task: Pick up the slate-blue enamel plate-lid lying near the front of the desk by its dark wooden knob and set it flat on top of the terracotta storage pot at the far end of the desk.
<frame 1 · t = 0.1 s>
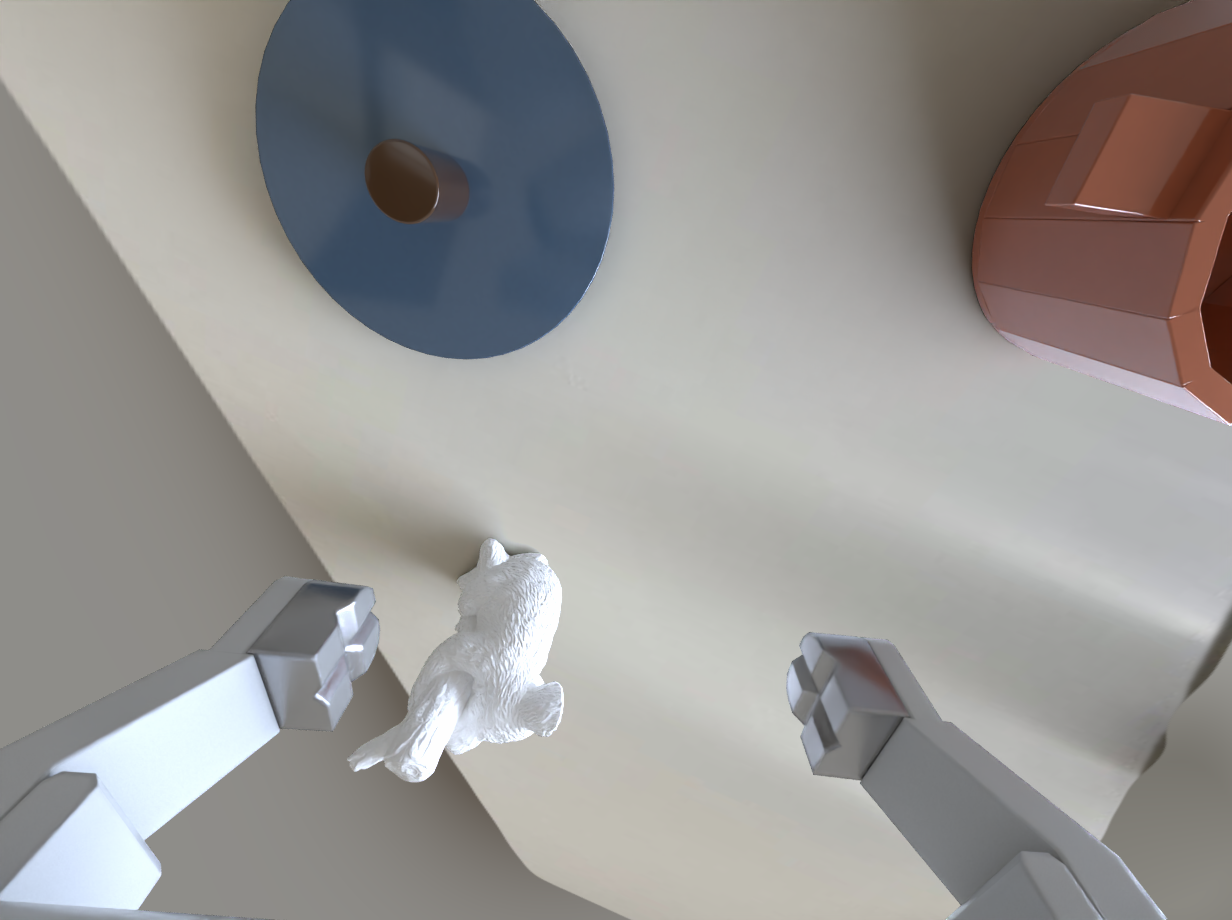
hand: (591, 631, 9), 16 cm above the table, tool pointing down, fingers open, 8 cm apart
lid: (444, 188, 19), point 1 cm above the table
pot: (1135, 206, 19), on the table
koala figurine: (511, 566, 29), on the table
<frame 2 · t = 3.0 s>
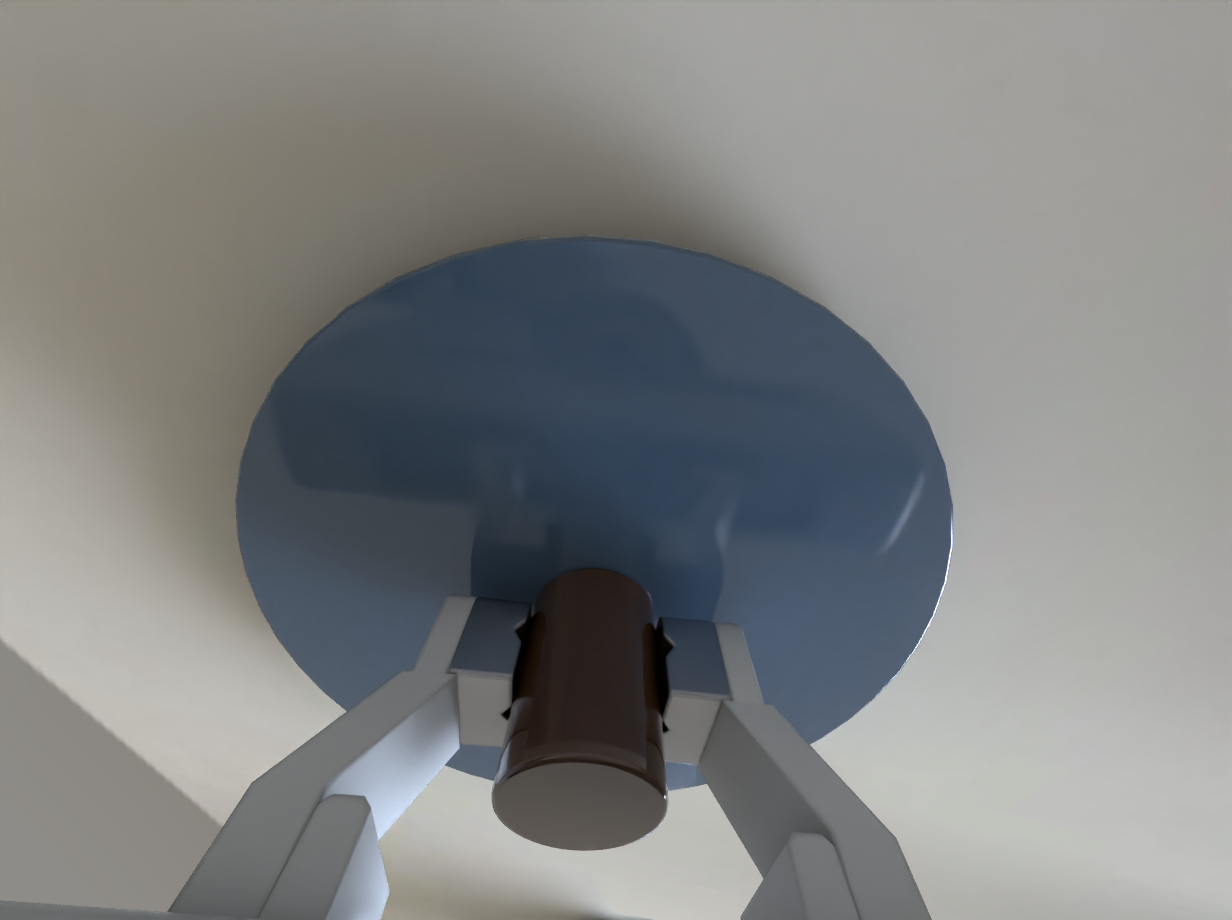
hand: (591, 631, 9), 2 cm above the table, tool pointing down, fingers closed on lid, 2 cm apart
lid: (595, 590, 10), point 1 cm above the table, touching gripper
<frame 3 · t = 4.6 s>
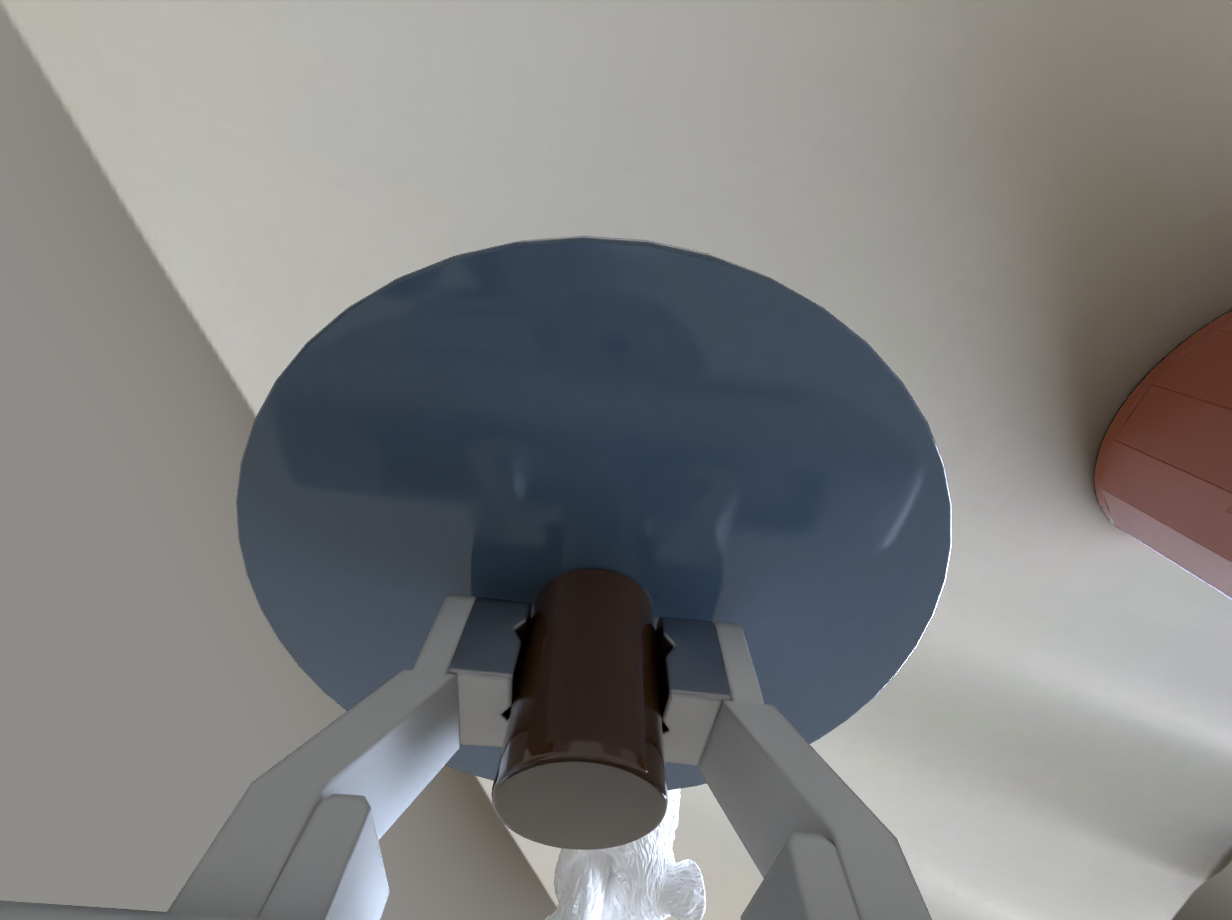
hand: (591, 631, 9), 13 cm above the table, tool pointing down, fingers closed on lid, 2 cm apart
lid: (595, 590, 10), point 11 cm above the table, touching gripper
koala figurine: (614, 704, 30), on the table
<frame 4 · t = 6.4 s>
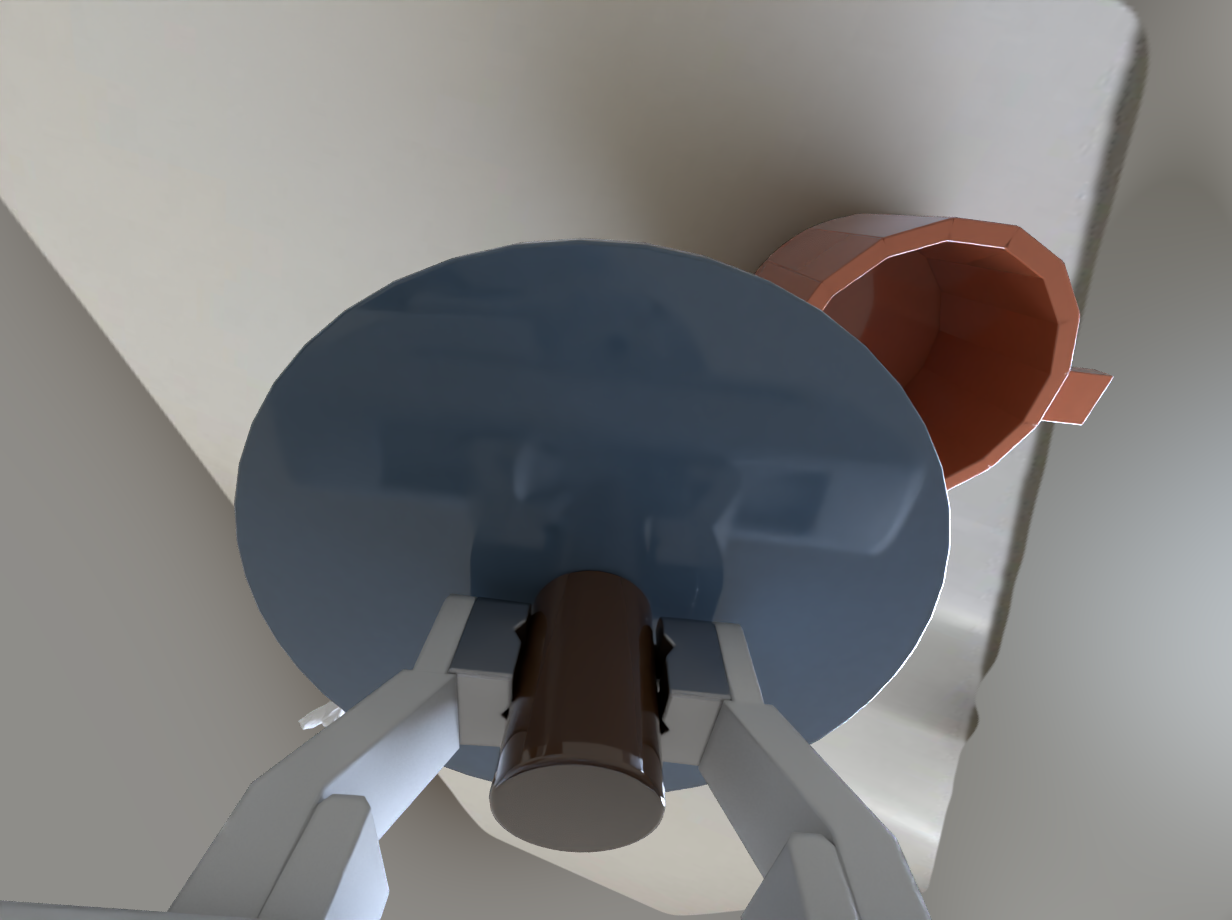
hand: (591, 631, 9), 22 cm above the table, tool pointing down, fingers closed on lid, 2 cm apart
lid: (593, 592, 10), point 21 cm above the table, touching gripper
pot: (835, 335, 28), on the table
koala figurine: (436, 582, 38), on the table
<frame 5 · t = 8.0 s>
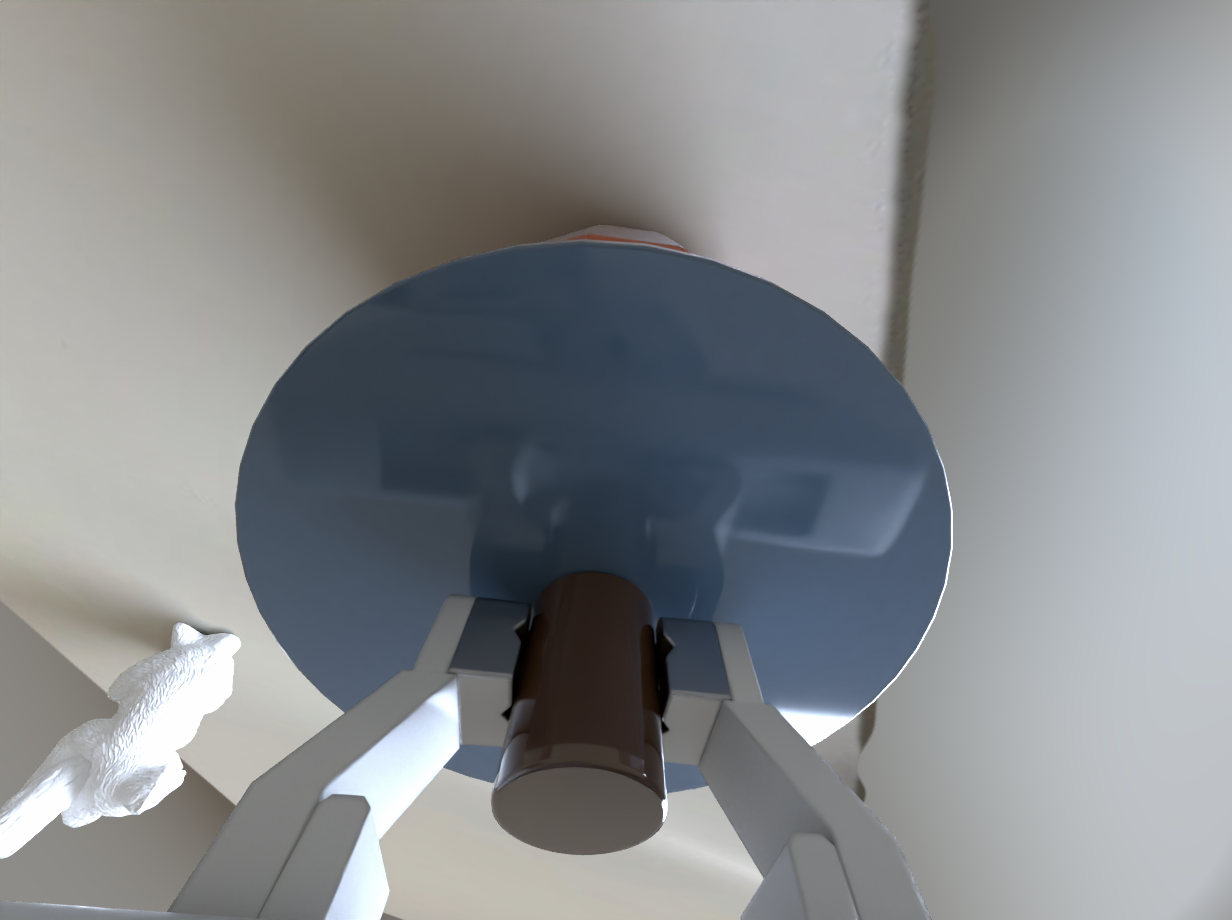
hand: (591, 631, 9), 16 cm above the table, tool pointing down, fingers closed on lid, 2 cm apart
lid: (595, 593, 10), point 15 cm above the table, touching gripper
pot: (612, 371, 23), on the table
koala figurine: (215, 642, 32), on the table
when the fingers open (10 cm above the table, at t = 9.7 s): lid stays where it is, resting on pot.
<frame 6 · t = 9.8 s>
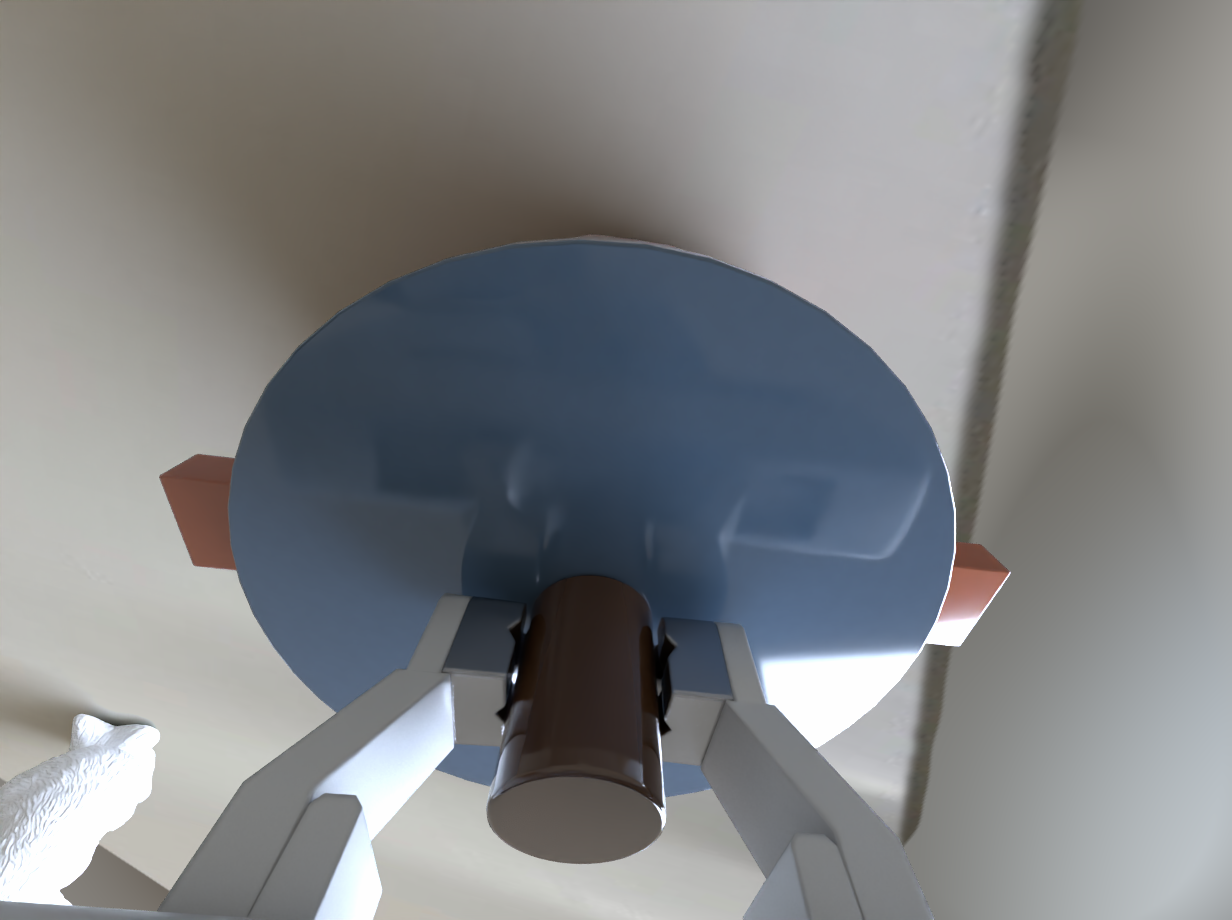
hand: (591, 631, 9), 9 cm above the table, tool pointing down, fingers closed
lid: (593, 596, 10), point 8 cm above the table, touching pot
pot: (607, 425, 17), on the table
koala figurine: (131, 732, 27), on the table
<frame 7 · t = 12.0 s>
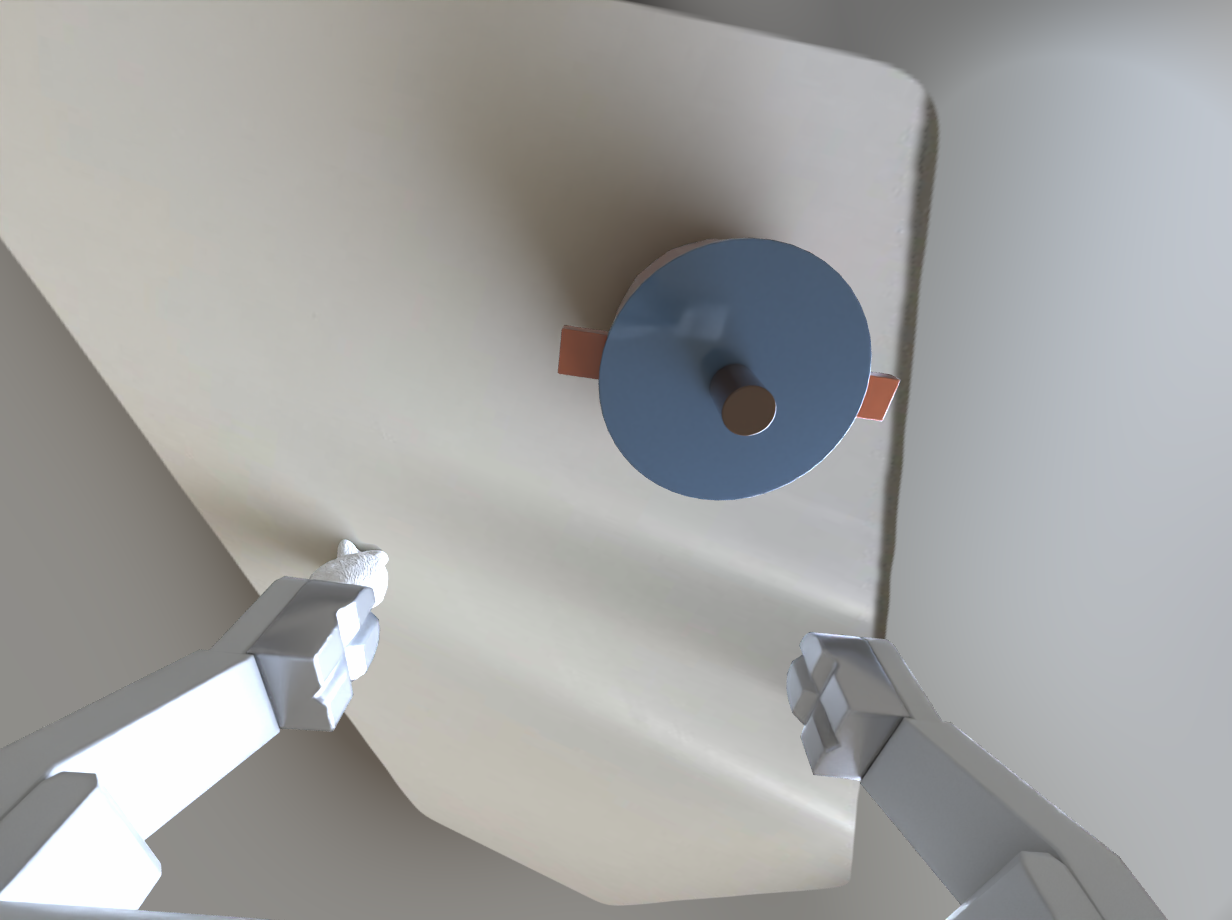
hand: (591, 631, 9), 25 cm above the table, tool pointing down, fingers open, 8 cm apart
lid: (730, 383, 24), point 8 cm above the table, touching pot
pot: (705, 342, 32), on the table
koala figurine: (365, 559, 41), on the table
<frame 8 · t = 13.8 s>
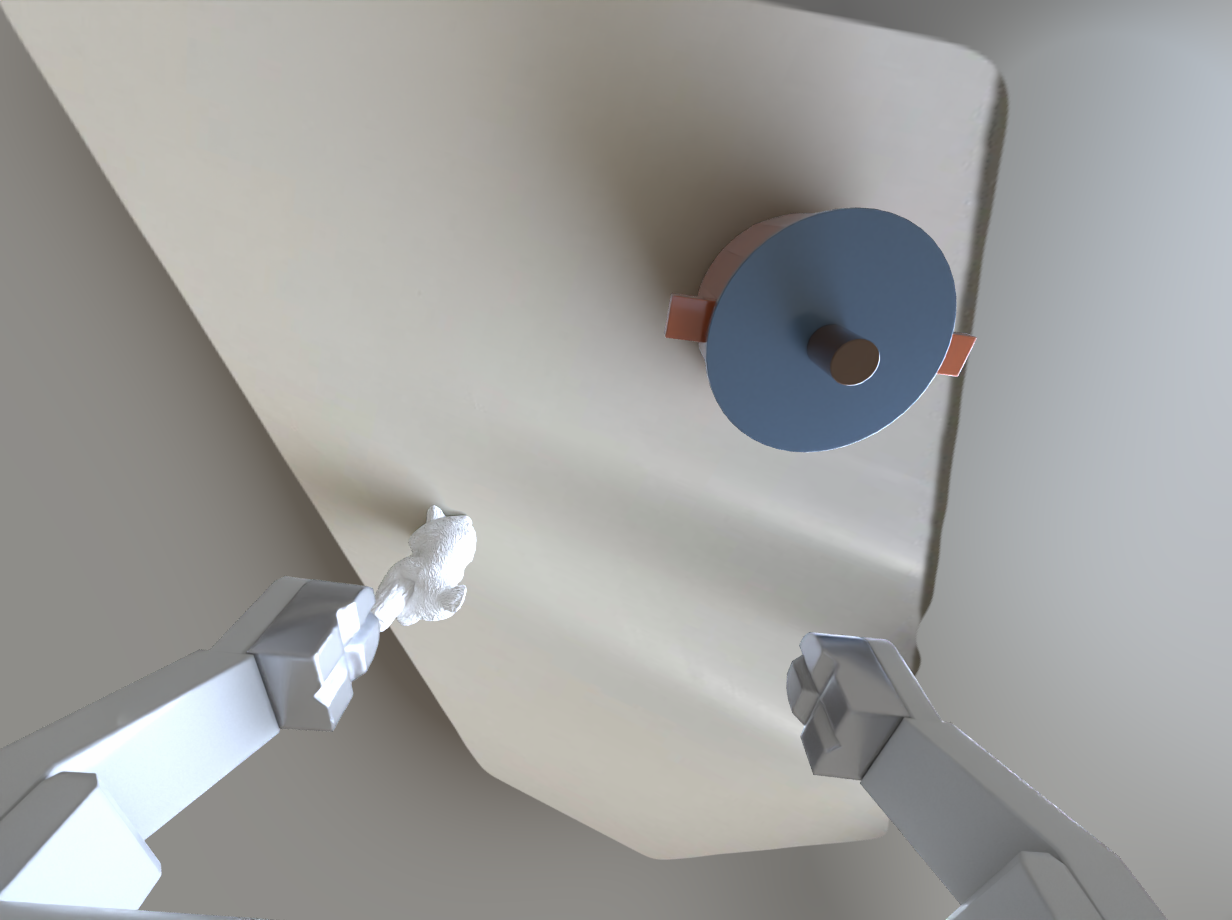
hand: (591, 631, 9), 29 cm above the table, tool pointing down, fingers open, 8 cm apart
lid: (823, 342, 27), point 8 cm above the table, touching pot
pot: (780, 311, 34), on the table
koala figurine: (449, 525, 44), on the table
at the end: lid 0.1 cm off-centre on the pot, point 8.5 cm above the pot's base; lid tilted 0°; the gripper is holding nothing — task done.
